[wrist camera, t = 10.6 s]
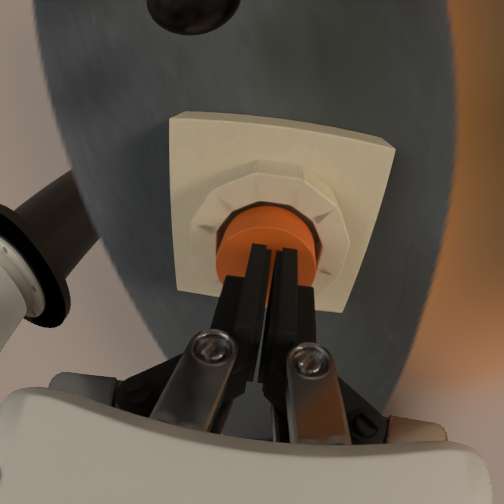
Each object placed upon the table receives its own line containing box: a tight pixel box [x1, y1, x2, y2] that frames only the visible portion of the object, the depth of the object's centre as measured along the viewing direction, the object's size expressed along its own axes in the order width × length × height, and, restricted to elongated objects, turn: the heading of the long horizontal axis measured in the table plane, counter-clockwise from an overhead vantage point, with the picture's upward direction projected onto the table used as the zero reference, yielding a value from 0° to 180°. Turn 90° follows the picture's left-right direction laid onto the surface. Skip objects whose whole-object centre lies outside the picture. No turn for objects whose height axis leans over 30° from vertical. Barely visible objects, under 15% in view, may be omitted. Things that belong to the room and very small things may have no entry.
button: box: [216, 206, 316, 307], centre depth 12 cm, size 4×4×2 cm
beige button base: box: [169, 111, 395, 313], centre depth 14 cm, size 10×10×4 cm
